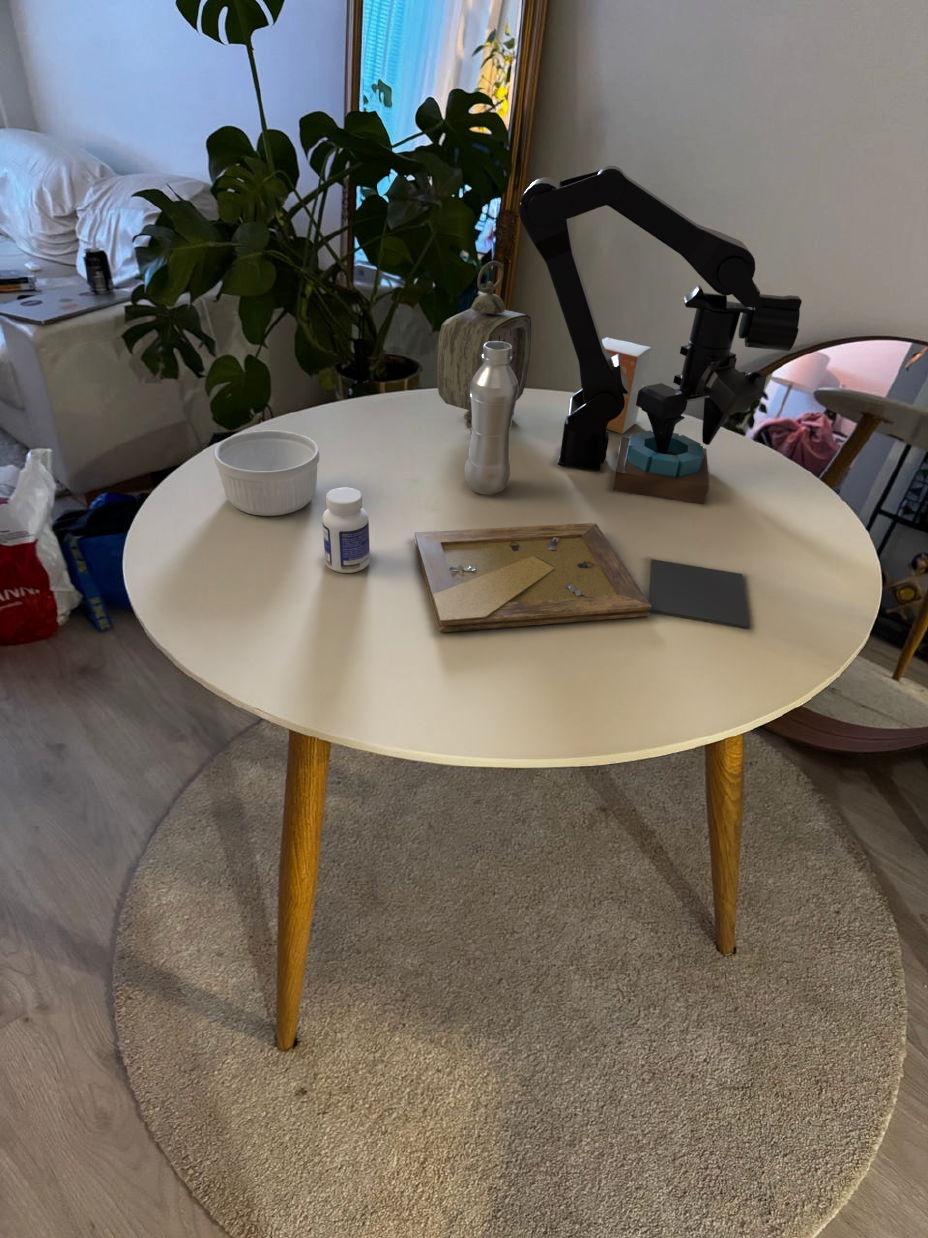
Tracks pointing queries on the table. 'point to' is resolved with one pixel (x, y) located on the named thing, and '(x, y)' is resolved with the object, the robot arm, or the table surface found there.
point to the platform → (660, 480)
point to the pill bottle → (345, 531)
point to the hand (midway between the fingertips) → (684, 449)
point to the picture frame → (525, 577)
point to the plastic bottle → (491, 420)
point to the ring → (680, 464)
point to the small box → (635, 370)
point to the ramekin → (268, 471)
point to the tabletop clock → (480, 344)
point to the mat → (698, 593)
